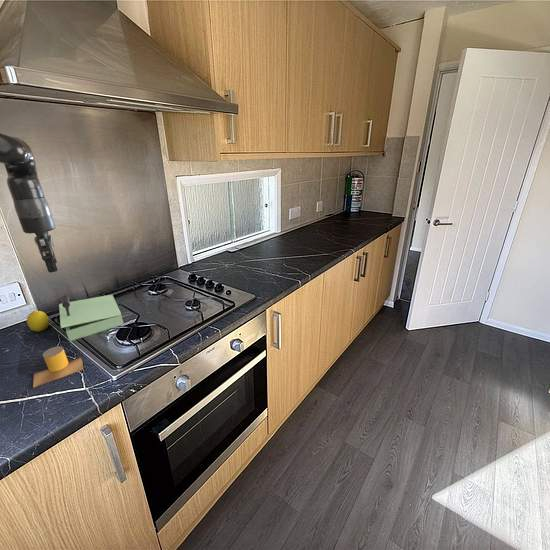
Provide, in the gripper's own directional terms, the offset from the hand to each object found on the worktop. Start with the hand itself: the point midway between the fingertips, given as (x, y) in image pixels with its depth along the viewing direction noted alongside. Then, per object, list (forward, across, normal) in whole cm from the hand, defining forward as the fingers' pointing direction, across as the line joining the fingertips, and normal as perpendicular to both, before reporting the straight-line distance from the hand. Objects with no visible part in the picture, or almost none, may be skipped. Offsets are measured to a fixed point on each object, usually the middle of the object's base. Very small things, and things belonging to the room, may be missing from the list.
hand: (53, 267), depth 89 cm
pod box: (+23, -1, +6) cm, 24 cm away
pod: (+22, +19, -5) cm, 30 cm away
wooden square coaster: (+23, +19, -5) cm, 30 cm away
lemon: (+23, -6, -9) cm, 26 cm away
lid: (+18, -1, +6) cm, 19 cm away
